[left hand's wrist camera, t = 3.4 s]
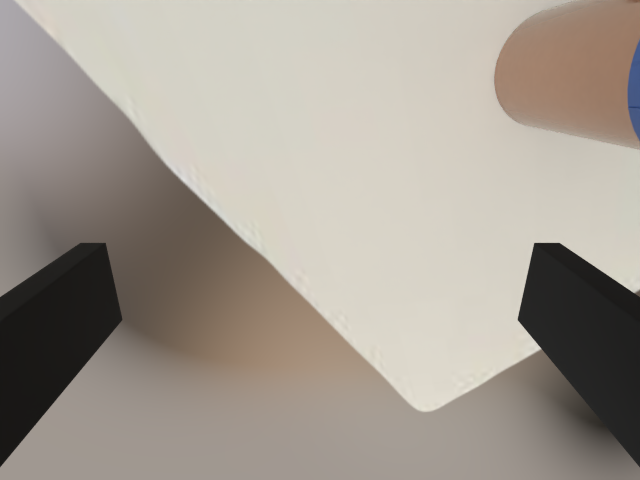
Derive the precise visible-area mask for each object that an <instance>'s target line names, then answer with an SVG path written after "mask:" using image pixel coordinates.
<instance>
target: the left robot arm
mask: <svg viewBox="0 0 640 480" xmlns="http://www.w3.org/2000/svg"><path fill="white" fill-rule="evenodd" d="M121 321H122V316H121V311H120V307H119V302H118V298H117V293H116V288H115V284H114V279H113V275H112V270H111V266H110V261H109V257H108V252H107V247H106V243H80V244H78V245H77V246H75V247H74V248H72V249H71V250H69V251H68V252H66V253H65V254H63V255H62V256H61V257H59V258H58V259H56V260H55V261H53V262H52V263H50V264H49V265H47V266H46V267H44V268H43V269H41V270H40V271H38V272H37V273H35V274H34V275H32V276H31V277H29V278H28V279H26V280H25V281H23V282H22V283H20V284H19V285H17V286H16V287H15V288H13V289H12V290H10V291H9V292H7V293H6V294H4V295H3V296H1V297H0V467H1V466H2V464H3V463H4V462H5V461H6V459H7V458H8V457H9V456H10V455H11V453H12V452H13V451H14V450H15V449H16V447H17V446H18V445H19V444H20V443H21V441H22V440H23V439H24V438H25V437H26V435H27V434H28V433H29V432H30V430H31V429H32V428H33V427H34V426H35V425H36V423H37V422H38V421H39V420H40V418H41V417H42V416H43V415H44V414H45V412H46V411H47V410H48V409H49V408H50V406H51V405H52V404H53V403H54V402H55V400H56V399H57V398H58V397H59V396H60V394H61V393H62V392H63V391H64V390H65V388H66V387H67V386H68V385H69V384H70V382H71V381H72V380H73V379H74V377H75V376H76V375H77V374H78V373H79V371H80V370H81V369H82V368H83V367H84V365H85V364H86V363H87V362H88V361H89V359H90V358H91V357H92V356H93V355H94V353H95V352H96V351H97V350H98V349H99V347H100V346H101V345H102V344H103V343H104V341H105V340H106V339H107V338H108V337H109V335H110V334H111V333H112V332H113V330H114V329H115V328H116V327H117V326H118V324H119V323H120V322H121ZM518 321H519V322H520V323H521V324H522V326H523V327H524V328H525V329H526V331H527V332H528V333H529V334H530V335H531V337H532V338H533V339H534V340H535V341H536V343H537V344H538V345H539V346H540V347H541V349H542V350H543V351H544V352H545V353H546V355H547V356H548V357H549V358H550V359H551V361H552V362H553V363H554V364H555V365H556V367H557V368H558V369H559V370H560V371H561V373H562V374H563V375H564V376H565V377H566V379H567V380H568V381H569V382H570V384H571V385H572V386H573V387H574V388H575V390H576V391H577V392H578V393H579V394H580V395H581V397H582V398H583V399H584V400H585V402H586V403H587V404H588V405H589V406H590V408H591V409H592V410H593V411H594V412H595V414H596V415H597V416H598V417H599V418H600V420H601V421H602V422H603V423H604V425H605V426H606V427H607V428H608V429H609V431H610V432H611V433H612V434H613V435H614V437H615V438H616V439H617V440H618V441H619V443H620V444H621V445H622V446H623V447H624V449H625V450H626V451H627V452H628V453H629V455H630V456H631V457H632V458H633V459H634V461H635V462H636V463H637V464H638V466H639V467H640V297H639V296H637V295H636V294H634V293H633V292H631V291H630V290H628V289H627V288H625V287H624V286H623V285H621V284H620V283H618V282H617V281H615V280H614V279H612V278H611V277H609V276H608V275H606V274H605V273H603V272H602V271H600V270H599V269H597V268H596V267H594V266H593V265H591V264H590V263H588V262H587V261H585V260H584V259H582V258H581V257H579V256H578V255H577V254H575V253H574V252H572V251H571V250H569V249H568V248H566V247H565V246H563V245H562V244H560V243H534V247H533V252H532V256H531V261H530V266H529V270H528V275H527V279H526V284H525V288H524V293H523V298H522V302H521V307H520V311H519V316H518Z"/></svg>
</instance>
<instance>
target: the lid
mask: <svg viewBox="0 0 640 480" xmlns="http://www.w3.org/2000/svg"><path fill="white" fill-rule="evenodd" d="M627 93H628V109H629V116H630V120H631V123H632V126H633V129H634V131H635V133H636V135H637V137H638V139H639V141H640V39H639V42H638V44H637V47H636V50H635V53H634V56H633V59H632V63H631V68H630V72H629V79H628V88H627Z"/></svg>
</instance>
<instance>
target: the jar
mask: <svg viewBox="0 0 640 480" xmlns="http://www.w3.org/2000/svg"><path fill="white" fill-rule="evenodd" d="M639 39H640V0H575V1H572V2H569V3H566V4H563V5H559V6H556V7H553V8H550V9H547V10H544V11H541V12H539V13H537V14H535V15H533V16H531V17H530V18H528V19H527V20H526V21H524V22H523V23H522V24H521V25H520V26H519V27H518V28H517V29H516V30H515V31H514V32H513V33H512V34H511V35H510V37H509V38H508V40H507V41H506V43H505V44H504V46H503V48H502V50H501V52H500V55H499V58H498V60H497V65H496V69H495V90H496V94H497V98H498V100H499V103H500V105H501V106H502V108H503V110H504V111H505V112H506V113H507V114H508V115H509V116H510V117H511V118H512V119H513V120H515V121H517V122H518V123H521V124H523V125H526V126H530V127H535V128H539V129H544V130H549V131H553V132H558V133H563V134H567V135H572V136H577V137H581V138H586V139H591V140H595V141H600V142H605V143H609V144H614V145H619V146H623V147H628V148H633V149H637V150H640V141H639V139H638V137H637V135H636V133H635V131H634V129H633V126H632V123H631V120H630V116H629V109H628V93H627V88H628V79H629V72H630V68H631V63H632V59H633V56H634V53H635V50H636V47H637V44H638V42H639Z"/></svg>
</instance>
